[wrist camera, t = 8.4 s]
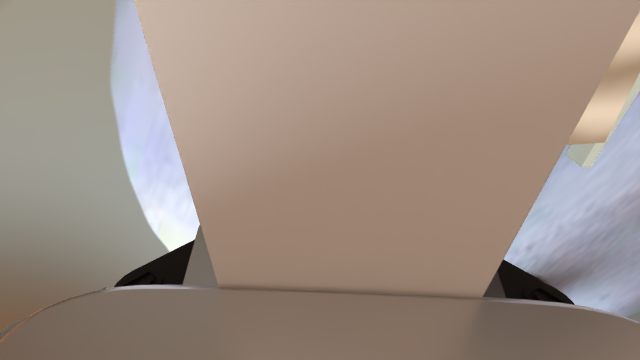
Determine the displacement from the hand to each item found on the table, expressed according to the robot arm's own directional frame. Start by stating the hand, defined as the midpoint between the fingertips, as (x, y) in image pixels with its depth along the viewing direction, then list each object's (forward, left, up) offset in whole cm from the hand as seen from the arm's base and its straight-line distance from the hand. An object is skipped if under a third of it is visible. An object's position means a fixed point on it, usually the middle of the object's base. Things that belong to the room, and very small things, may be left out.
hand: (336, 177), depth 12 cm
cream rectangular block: (0, 0, -3) cm, 3 cm away
